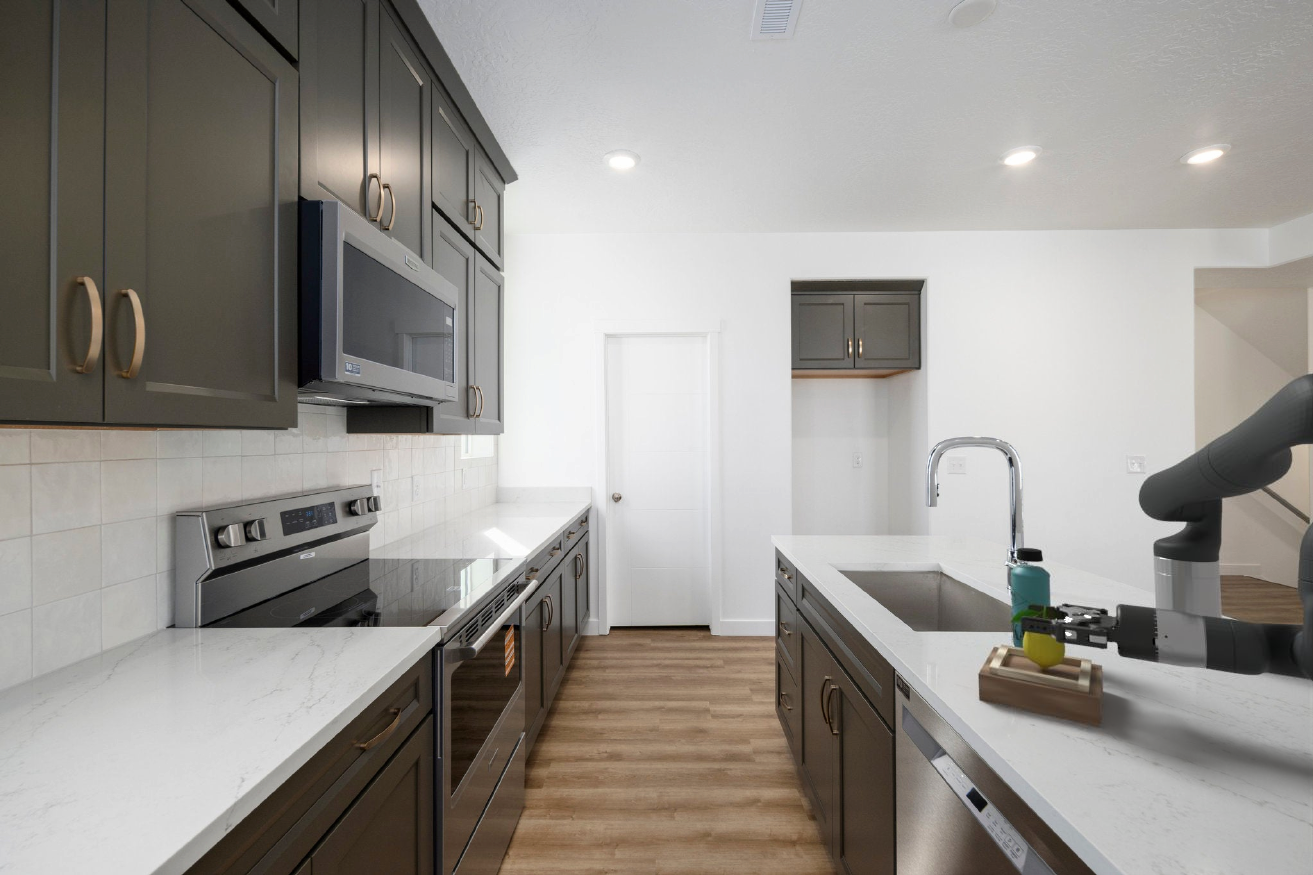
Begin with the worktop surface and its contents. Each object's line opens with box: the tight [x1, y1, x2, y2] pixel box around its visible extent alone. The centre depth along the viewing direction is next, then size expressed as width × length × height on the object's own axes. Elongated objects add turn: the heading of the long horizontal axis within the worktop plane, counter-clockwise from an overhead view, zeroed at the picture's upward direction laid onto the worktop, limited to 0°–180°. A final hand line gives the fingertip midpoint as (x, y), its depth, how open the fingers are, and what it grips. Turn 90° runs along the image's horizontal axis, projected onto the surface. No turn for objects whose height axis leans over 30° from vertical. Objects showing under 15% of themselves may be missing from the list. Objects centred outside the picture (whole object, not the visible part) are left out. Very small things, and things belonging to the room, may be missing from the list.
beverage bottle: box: [1010, 547, 1052, 648], centre depth 107 cm, size 6×7×20 cm
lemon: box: [1009, 606, 1066, 670], centre depth 90 cm, size 7×6×10 cm
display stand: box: [977, 644, 1104, 728], centre depth 90 cm, size 15×15×5 cm
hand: (1025, 616), depth 92 cm, fingers open, 8 cm apart
